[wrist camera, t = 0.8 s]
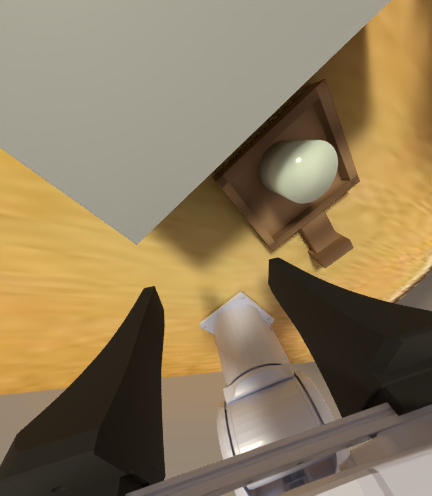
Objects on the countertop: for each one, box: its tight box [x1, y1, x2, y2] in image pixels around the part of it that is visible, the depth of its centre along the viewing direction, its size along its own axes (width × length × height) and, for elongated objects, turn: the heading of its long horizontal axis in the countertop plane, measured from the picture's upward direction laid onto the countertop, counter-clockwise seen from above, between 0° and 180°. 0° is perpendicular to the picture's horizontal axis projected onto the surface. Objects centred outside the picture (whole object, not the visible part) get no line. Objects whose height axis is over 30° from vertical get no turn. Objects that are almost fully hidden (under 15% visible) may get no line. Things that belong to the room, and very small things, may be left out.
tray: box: [213, 79, 360, 268], centre depth 20 cm, size 17×11×2 cm, turn 41°
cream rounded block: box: [259, 140, 338, 204], centre depth 16 cm, size 4×4×4 cm
